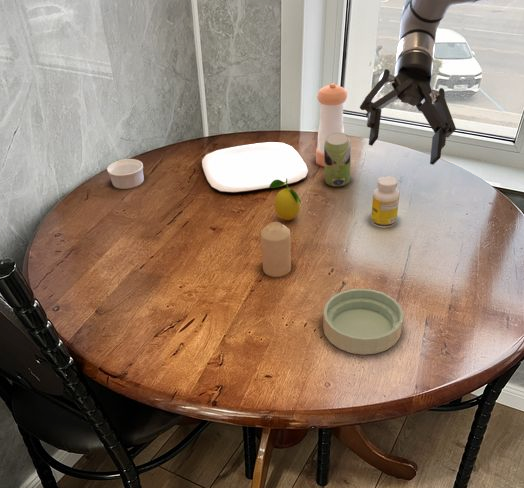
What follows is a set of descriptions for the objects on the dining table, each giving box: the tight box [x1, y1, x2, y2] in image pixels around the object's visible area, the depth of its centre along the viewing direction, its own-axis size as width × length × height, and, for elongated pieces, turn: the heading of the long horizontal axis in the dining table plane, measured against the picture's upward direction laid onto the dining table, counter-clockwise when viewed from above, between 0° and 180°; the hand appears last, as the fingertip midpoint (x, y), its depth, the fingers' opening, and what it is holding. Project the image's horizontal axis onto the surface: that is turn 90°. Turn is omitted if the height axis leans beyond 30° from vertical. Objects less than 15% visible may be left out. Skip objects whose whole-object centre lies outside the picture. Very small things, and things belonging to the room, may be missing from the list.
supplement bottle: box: [370, 175, 401, 229], centre depth 114 cm, size 5×5×10 cm
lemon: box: [268, 178, 302, 221], centre depth 116 cm, size 7×6×10 cm
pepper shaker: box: [315, 82, 348, 168], centre depth 133 cm, size 7×7×19 cm
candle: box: [260, 221, 292, 278], centre depth 103 cm, size 6×6×10 cm
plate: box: [201, 141, 309, 194], centre depth 138 cm, size 25×25×2 cm
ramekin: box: [106, 158, 145, 190], centre depth 135 cm, size 9×9×4 cm
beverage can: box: [324, 132, 352, 188], centre depth 126 cm, size 6×7×12 cm
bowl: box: [322, 288, 405, 355], centre depth 91 cm, size 13×13×4 cm
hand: (404, 151), depth 107 cm, fingers open, 13 cm apart
